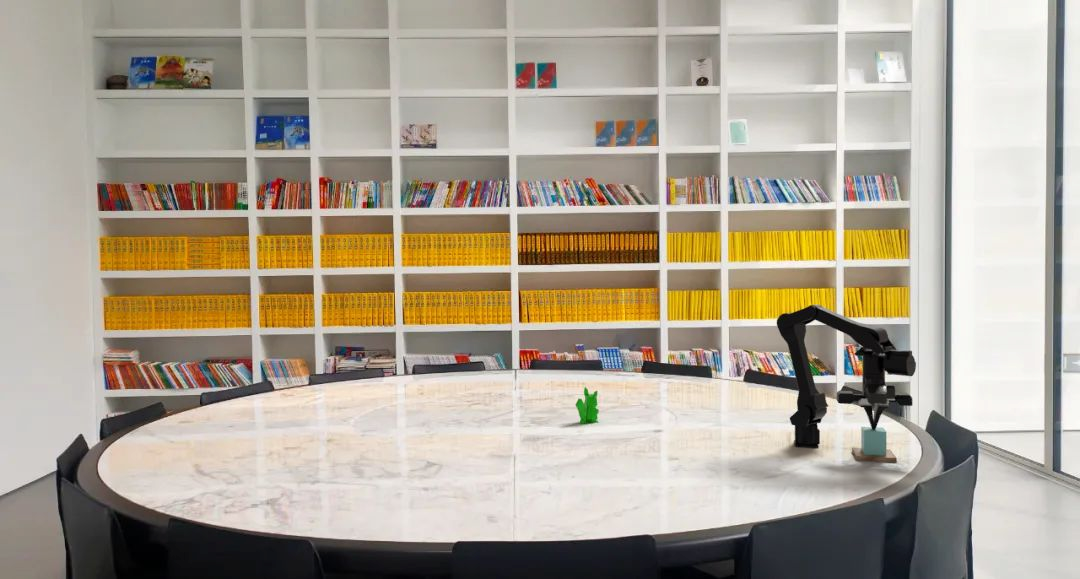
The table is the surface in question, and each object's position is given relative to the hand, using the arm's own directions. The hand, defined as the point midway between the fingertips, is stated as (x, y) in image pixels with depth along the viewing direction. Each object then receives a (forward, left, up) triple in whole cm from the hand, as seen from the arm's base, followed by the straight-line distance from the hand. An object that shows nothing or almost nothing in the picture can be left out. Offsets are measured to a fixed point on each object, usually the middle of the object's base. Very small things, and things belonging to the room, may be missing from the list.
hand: (873, 429), depth 213 cm
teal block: (0, 0, -6) cm, 6 cm away
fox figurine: (-87, +29, -8) cm, 92 cm away
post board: (0, 0, -8) cm, 8 cm away
